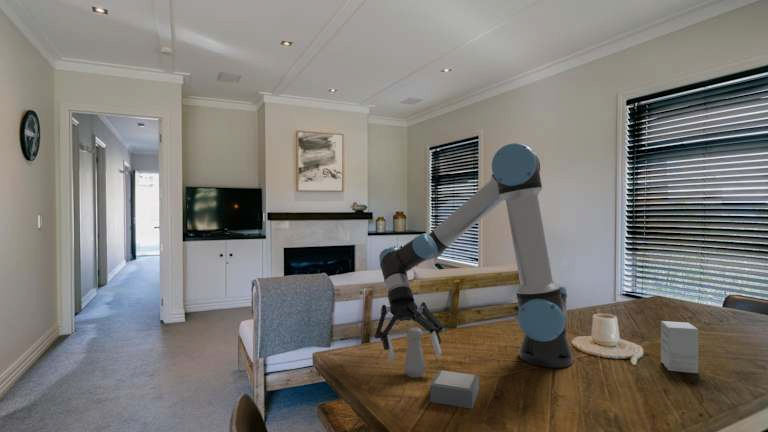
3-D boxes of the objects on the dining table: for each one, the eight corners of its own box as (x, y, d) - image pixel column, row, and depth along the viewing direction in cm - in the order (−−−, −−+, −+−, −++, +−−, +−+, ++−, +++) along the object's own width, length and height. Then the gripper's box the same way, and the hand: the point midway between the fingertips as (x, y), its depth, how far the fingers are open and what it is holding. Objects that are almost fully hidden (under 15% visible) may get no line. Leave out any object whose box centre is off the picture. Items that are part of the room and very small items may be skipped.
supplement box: (689, 364, 122) (689, 322, 122) (698, 374, 115) (699, 329, 115) (660, 361, 125) (660, 320, 125) (667, 371, 118) (668, 326, 118)
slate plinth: (478, 391, 105) (478, 374, 105) (472, 408, 96) (472, 390, 96) (439, 385, 109) (439, 368, 109) (430, 401, 99) (430, 384, 99)
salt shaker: (424, 380, 112) (423, 332, 112) (402, 378, 113) (402, 330, 113) (426, 371, 117) (426, 326, 117) (406, 370, 119) (406, 325, 118)
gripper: (433, 296, 134) (453, 359, 119) (357, 301, 127) (369, 368, 113) (440, 283, 128) (462, 346, 114) (361, 287, 122) (374, 355, 107)
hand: (416, 357), depth 113 cm, fingers open, 13 cm apart
